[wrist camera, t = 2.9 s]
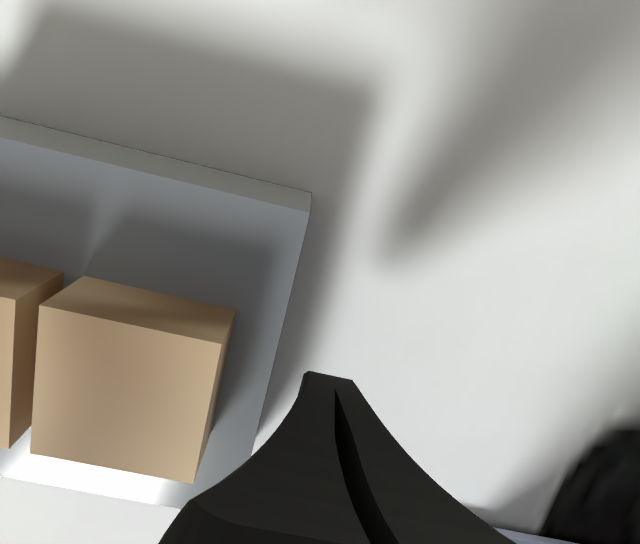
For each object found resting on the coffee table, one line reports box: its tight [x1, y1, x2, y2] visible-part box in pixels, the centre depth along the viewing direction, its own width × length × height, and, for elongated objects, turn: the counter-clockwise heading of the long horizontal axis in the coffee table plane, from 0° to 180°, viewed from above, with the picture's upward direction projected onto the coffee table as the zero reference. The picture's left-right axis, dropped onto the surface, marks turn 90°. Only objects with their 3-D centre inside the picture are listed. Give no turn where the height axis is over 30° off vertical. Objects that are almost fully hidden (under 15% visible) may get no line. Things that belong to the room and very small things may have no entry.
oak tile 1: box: [30, 276, 236, 484], centre depth 12 cm, size 4×4×2 cm
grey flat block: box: [0, 116, 311, 509], centre depth 14 cm, size 10×10×4 cm
